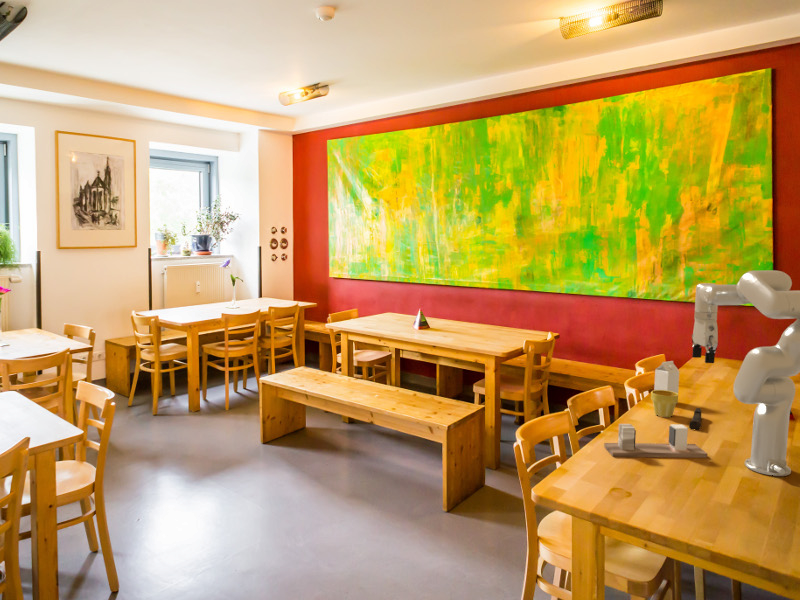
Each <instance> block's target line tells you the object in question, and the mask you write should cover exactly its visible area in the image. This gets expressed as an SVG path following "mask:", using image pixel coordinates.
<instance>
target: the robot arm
mask: <svg viewBox="0 0 800 600" xmlns="http://www.w3.org/2000/svg"><path fill="white" fill-rule="evenodd" d="M792 285H793V282H792V279H791V276H790V275H788V274H787V273H785V272H784V271H780V270H776V269H775V270H774V269H773V270H772V269H771V270H770V269H769V270H764V269H763V270H749V271H747V272H745V273H744V274H743V275H742V276H741V277H740V278H739V281H738V282H737V284H716V283H708V282H704V283H698V284H697V285H696V287H695V301H694V315H693V316H694V324H693V332H692V334H691V339H692V340H691V343H692V345H691V346H692V352H691V353H692V358H696V359H698V358H702V351H703V350H702V349H703V348H702V347H704V348H705V351H706V352H705V355H704V362H705V363H704V364H714V363H715V359H716V358H715V356H716V352H717V347H718V342H719V341H718V340H719V339H718V337H719V334H718V331H719V330H718V323H717V320H718V308H719V307H718V306H742V305H747V304H751V305H752V306H754V307H755V308H756V309H757V310H758V311H759V312H760V313H761V314H762V315H764V316H765V317H766V318H769V319H774V320H776V319H777V320H785V319H786V320H787V319H789V320H790V319H791V320H792V319H794V320H795V319H796V320H795V321H794V322H793V323H791V324H790V325H789V326H788V327H787V328H786V329H785V330H784V331H783V332H782V334H781V336H780V338H779V340H778V342H777V343H776V344H775V345H772V346H759V347H754V348H753V349H751V350H749V351H748V352H747V354H746V355H745V356H744V359H743V362H742V363H741V365H740V367H739V370H738V372H737V374H736V377H735V379H734V382H733V394H734V397H735V398H736V400H737V401H739V402H740V403H742V404H747V405H757V406H756V407H755V410H754V413H753V420H752V421H753V424H752V437H751V450H750V457H749V458H746V459H745V460H744V466H745V467H747V469H748V470H749V469H750V470H751V471H754V472H756V473H759V474H763V475H768V476H772V475H773V477H785V476H786V477H787V476H789V475H791V474H792V469H791V467H790V466H788V464H787V462H788V461H787V449H788V439H789V438H788V436H789V425H790V414H791V409H792V404H793V402H794V399H795V396H796V385H795V382H794V381H793V379H792V378H791V377H793V376H796V375H798V374H800V290H791V287H792Z"/></svg>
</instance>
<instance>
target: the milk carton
mask: <svg viewBox="0 0 800 600" xmlns="http://www.w3.org/2000/svg"><path fill="white" fill-rule="evenodd" d="M654 371H655V372H654V386H653V387H654V388H653V389H654V390H667V391H672V392H675V393H677V394H678V395H679V385H680V384H679V383H680V381H679V380H680V370H679V369H678V367H677V366H676V365H675V363H674V360H670V361H663V362H661V364H660V365H659V366H658V367H657V368H655V370H654ZM678 402H679V401H678ZM678 402H677V403H676V404H678Z"/></svg>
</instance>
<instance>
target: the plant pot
mask: <svg viewBox="0 0 800 600" xmlns="http://www.w3.org/2000/svg"><path fill="white" fill-rule="evenodd" d="M650 400H651V401H652V404H653V405H652V406H653V410H654V414H656V415H655V416H657V415H658V416H657V417H660V416H662V417H661V418H672V417H673V415H674V412H675V411H674V410H675V408H676V404H678V403H677V402H679V393H678V394H677V393H675V392H672V391H667V390H652V391H651V392H650ZM671 416H672V417H671Z"/></svg>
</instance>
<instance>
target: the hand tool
mask: <svg viewBox="0 0 800 600" xmlns="http://www.w3.org/2000/svg"><path fill="white" fill-rule="evenodd" d="M701 427H702V409H701V408H700V407H699V408H697V407H696V408H695V409H694V411H693V416H692V419H691V421H689V423H688V429H690V430H692V429H695V430H694V431H700V430H701Z"/></svg>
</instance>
